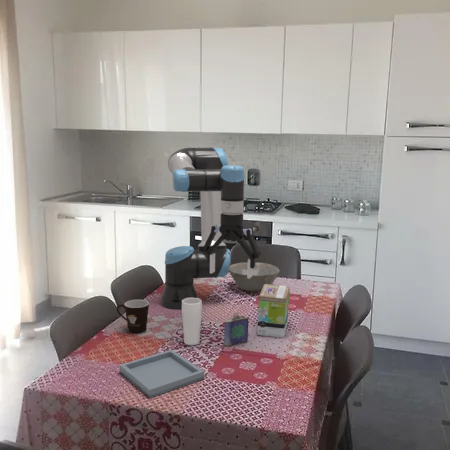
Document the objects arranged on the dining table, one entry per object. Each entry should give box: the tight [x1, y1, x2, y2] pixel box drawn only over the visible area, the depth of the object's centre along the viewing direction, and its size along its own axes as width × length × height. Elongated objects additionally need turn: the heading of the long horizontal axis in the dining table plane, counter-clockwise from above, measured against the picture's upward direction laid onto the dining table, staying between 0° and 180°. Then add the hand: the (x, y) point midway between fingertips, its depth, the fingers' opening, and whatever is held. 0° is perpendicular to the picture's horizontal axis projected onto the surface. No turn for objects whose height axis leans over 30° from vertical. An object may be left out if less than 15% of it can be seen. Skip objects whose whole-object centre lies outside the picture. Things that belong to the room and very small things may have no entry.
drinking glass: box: [181, 297, 203, 346], centre depth 169 cm, size 7×7×15 cm
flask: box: [223, 312, 250, 348], centre depth 170 cm, size 9×3×11 cm, turn 121°
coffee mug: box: [116, 299, 150, 335], centre depth 181 cm, size 12×9×10 cm
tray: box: [119, 349, 205, 399], centre depth 147 cm, size 18×18×2 cm
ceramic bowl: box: [228, 261, 280, 293], centre depth 227 cm, size 22×23×10 cm
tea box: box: [256, 284, 291, 338], centre depth 182 cm, size 15×10×15 cm
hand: (230, 275), depth 170 cm, fingers open, 13 cm apart
